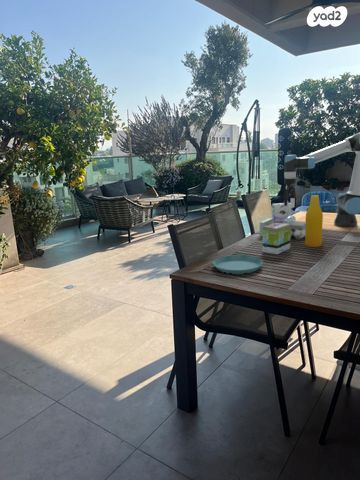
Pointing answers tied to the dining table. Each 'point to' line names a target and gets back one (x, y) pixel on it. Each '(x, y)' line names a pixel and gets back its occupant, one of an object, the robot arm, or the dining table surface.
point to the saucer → (238, 264)
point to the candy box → (280, 212)
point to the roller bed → (298, 233)
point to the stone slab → (297, 224)
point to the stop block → (265, 224)
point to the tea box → (276, 238)
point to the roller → (289, 219)
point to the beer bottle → (314, 223)
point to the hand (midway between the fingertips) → (289, 208)
